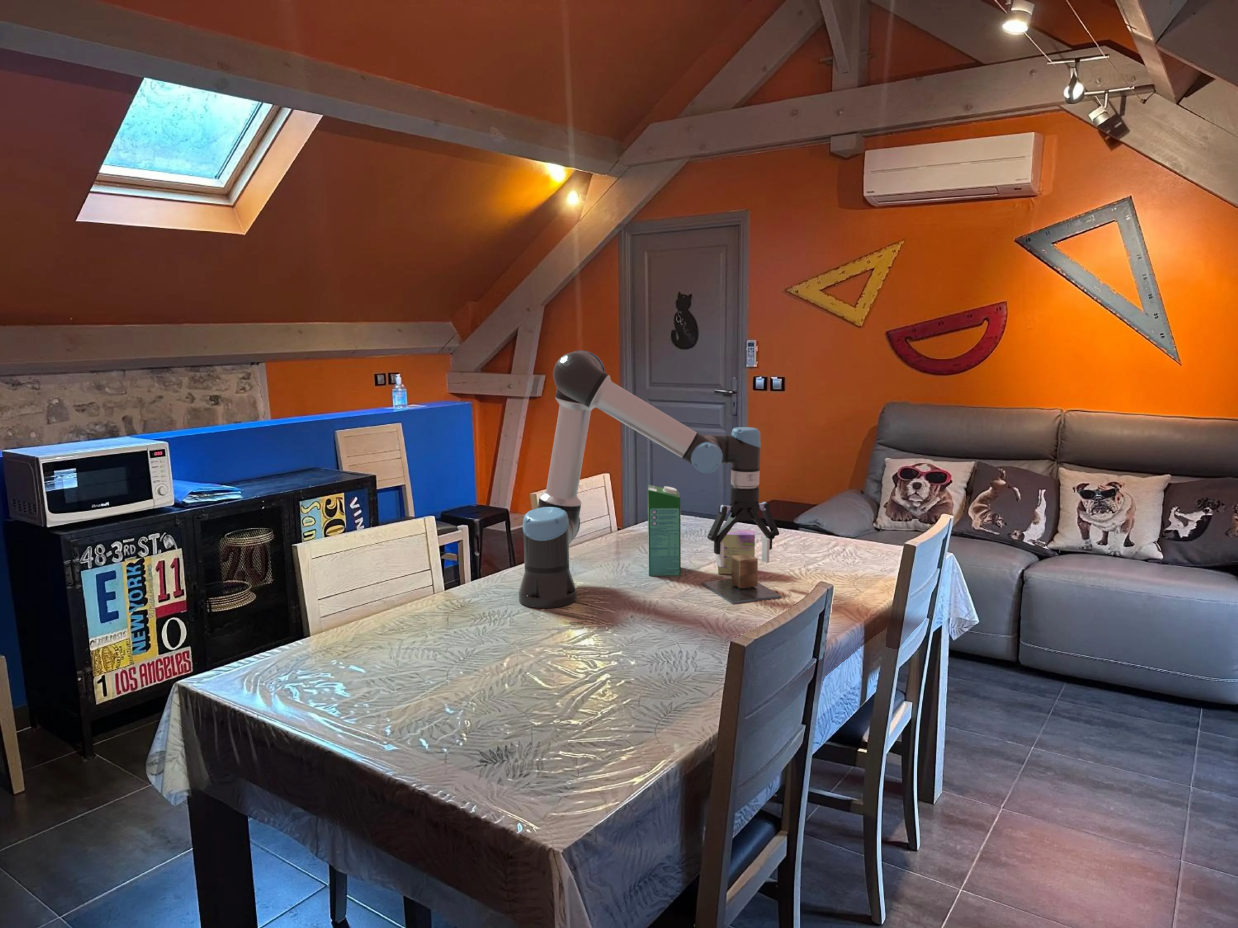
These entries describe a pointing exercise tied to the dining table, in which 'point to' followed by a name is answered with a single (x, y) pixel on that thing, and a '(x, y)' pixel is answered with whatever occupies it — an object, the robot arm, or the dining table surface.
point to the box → (736, 547)
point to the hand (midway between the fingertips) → (742, 563)
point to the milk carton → (664, 531)
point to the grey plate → (740, 592)
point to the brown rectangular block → (744, 570)
